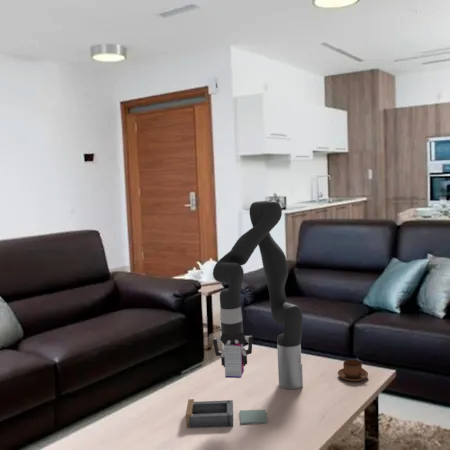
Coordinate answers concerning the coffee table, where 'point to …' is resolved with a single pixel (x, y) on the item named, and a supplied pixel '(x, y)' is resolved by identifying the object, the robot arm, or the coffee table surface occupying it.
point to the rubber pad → (253, 416)
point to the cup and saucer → (352, 371)
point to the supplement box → (233, 361)
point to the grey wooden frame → (209, 414)
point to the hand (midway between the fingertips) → (234, 365)
